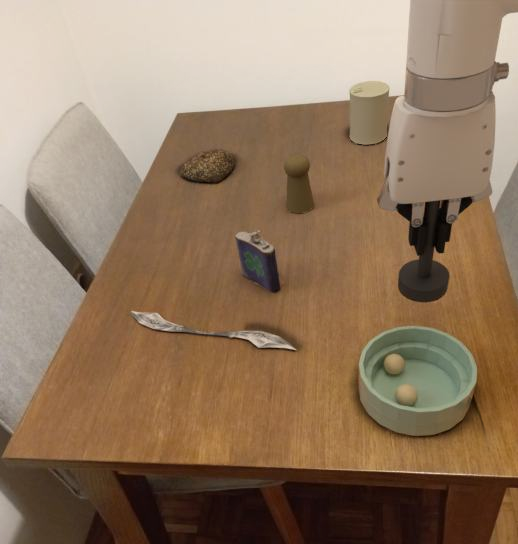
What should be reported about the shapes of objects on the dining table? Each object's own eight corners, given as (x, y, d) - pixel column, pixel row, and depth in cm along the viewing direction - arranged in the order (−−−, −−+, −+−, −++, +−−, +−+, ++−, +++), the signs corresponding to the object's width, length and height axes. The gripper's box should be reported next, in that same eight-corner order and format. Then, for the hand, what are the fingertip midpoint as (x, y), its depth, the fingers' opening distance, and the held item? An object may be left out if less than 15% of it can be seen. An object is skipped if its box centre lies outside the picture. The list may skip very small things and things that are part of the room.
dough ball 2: (399, 402, 75) (420, 395, 74) (400, 413, 72) (422, 406, 71) (391, 384, 74) (412, 377, 73) (392, 395, 71) (413, 387, 70)
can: (344, 132, 133) (344, 83, 124) (379, 125, 133) (381, 75, 124) (355, 148, 126) (356, 97, 118) (392, 141, 127) (395, 89, 118)
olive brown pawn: (282, 213, 111) (277, 164, 103) (290, 197, 115) (285, 149, 107) (310, 214, 109) (307, 165, 101) (317, 199, 113) (314, 150, 105)
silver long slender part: (132, 310, 95) (119, 329, 92) (131, 307, 95) (118, 326, 92) (303, 332, 86) (296, 354, 83) (303, 329, 85) (295, 351, 82)
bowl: (454, 350, 79) (460, 321, 75) (483, 434, 69) (491, 407, 65) (353, 357, 81) (353, 330, 77) (365, 441, 70) (366, 415, 66)
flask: (239, 275, 98) (230, 226, 91) (251, 267, 100) (243, 219, 92) (273, 295, 93) (267, 246, 86) (285, 287, 94) (279, 237, 87)
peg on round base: (447, 271, 67) (462, 180, 58) (447, 303, 64) (464, 211, 54) (398, 270, 69) (405, 181, 59) (396, 301, 65) (403, 211, 56)
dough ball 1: (381, 355, 75) (379, 359, 78) (388, 374, 75) (386, 378, 77) (401, 349, 75) (399, 353, 78) (409, 368, 74) (406, 372, 77)
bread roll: (216, 188, 122) (212, 168, 118) (175, 179, 127) (169, 159, 124) (245, 161, 129) (242, 142, 125) (205, 154, 134) (201, 135, 131)
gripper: (521, 57, 50) (487, 221, 63) (355, 81, 52) (356, 236, 65) (551, 88, 45) (507, 260, 58) (366, 113, 46) (364, 274, 60)
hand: (427, 246), depth 61 cm, fingers closed on peg on round base
